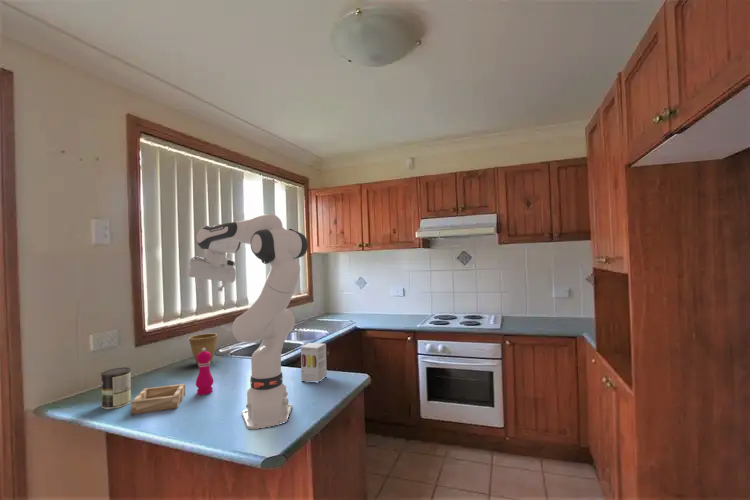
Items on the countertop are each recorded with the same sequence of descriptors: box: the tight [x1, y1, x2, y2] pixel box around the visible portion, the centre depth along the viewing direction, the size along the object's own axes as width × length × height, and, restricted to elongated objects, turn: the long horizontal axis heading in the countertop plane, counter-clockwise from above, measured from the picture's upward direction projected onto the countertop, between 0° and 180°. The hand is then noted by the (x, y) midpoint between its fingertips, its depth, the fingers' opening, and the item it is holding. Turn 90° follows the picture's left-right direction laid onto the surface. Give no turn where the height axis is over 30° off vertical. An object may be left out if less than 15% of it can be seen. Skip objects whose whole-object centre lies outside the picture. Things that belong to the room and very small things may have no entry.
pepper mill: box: [195, 348, 214, 396], centre depth 166 cm, size 7×7×20 cm
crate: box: [130, 383, 186, 416], centre depth 153 cm, size 16×16×5 cm
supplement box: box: [300, 342, 328, 381], centre depth 178 cm, size 10×9×17 cm
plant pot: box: [188, 333, 218, 366], centre depth 213 cm, size 15×15×16 cm
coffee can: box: [100, 366, 132, 410], centre depth 155 cm, size 10×10×14 cm
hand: (209, 290), depth 165 cm, fingers open, 8 cm apart
